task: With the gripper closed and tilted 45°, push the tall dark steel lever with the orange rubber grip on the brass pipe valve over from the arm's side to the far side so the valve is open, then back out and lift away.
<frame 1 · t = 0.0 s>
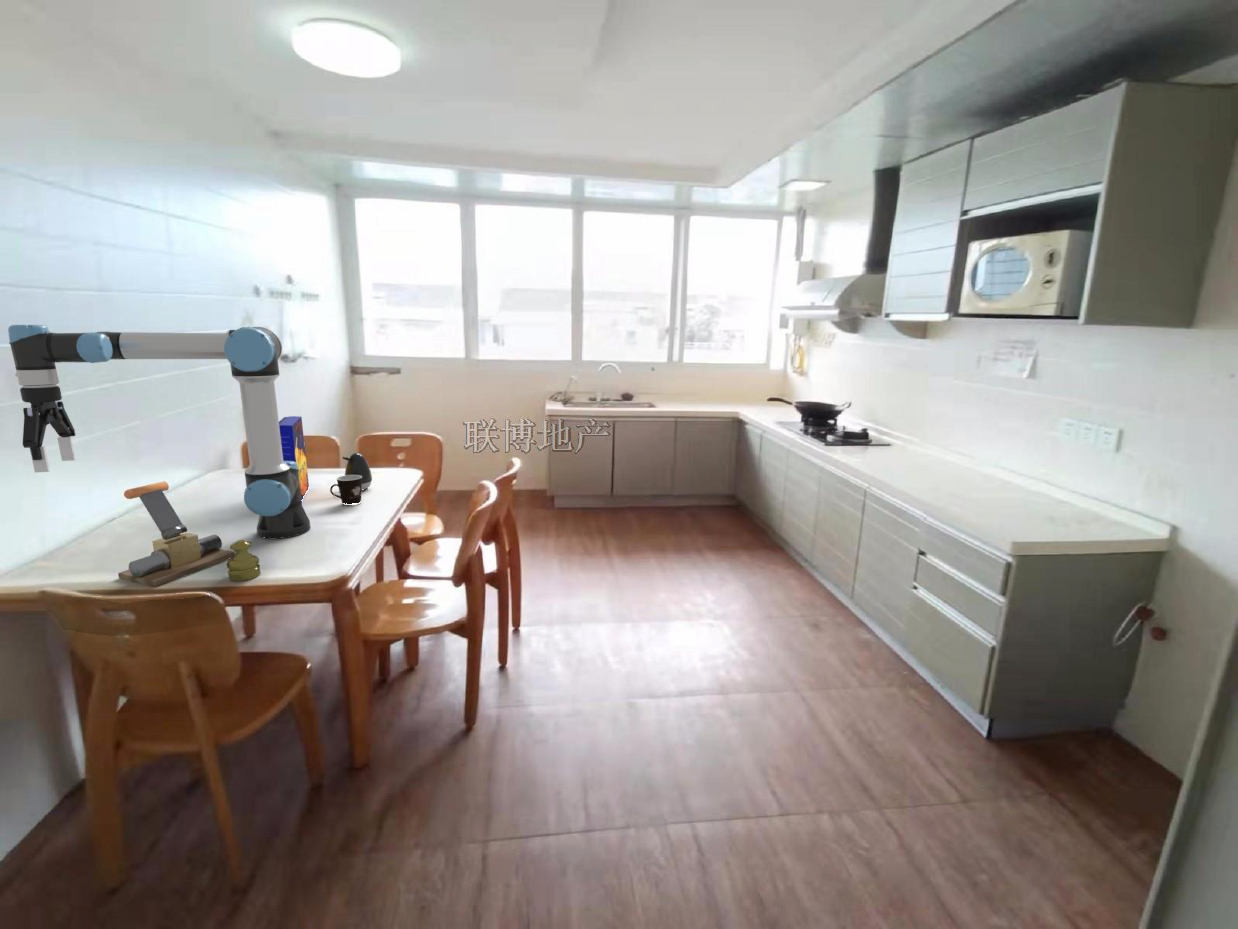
hand: (56, 466, 160), 28 cm above the table, tool pointing down, fingers open, 13 cm apart
gold pawn figurine: (245, 576, 161), on the table
coffee mug: (347, 504, 224), on the table
pipe valve: (179, 567, 165), on the table
cereal box: (296, 497, 232), on the table
valve lever: (161, 511, 163), point 16 cm above the table, hinge at -35.0°
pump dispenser: (359, 490, 243), on the table
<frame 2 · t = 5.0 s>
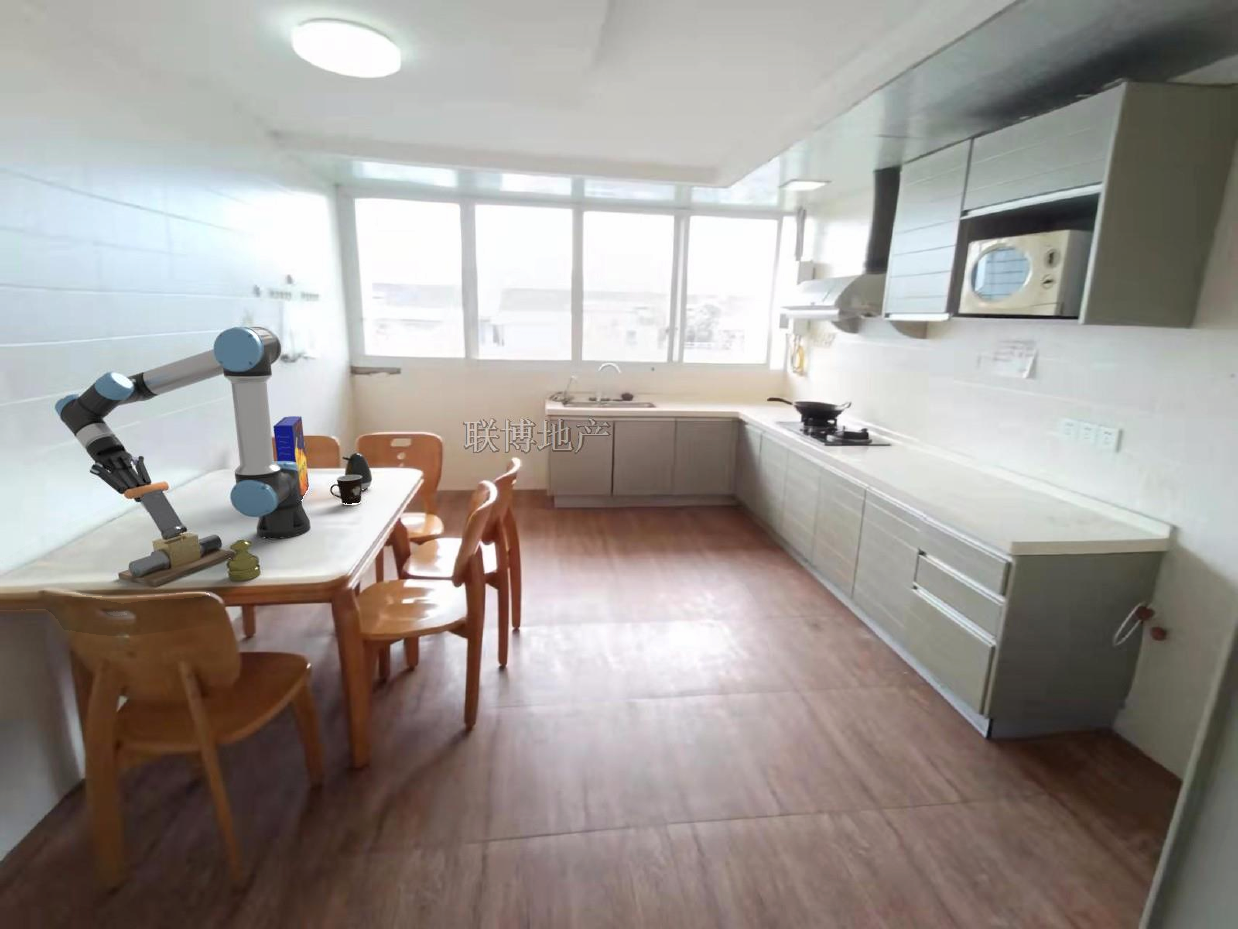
hand: (152, 508, 164), 16 cm above the table, tool tilted 45°, fingers closed
valve lever: (161, 511, 163), point 16 cm above the table, hinge at -34.9°, touching gripper
everything else where it was.
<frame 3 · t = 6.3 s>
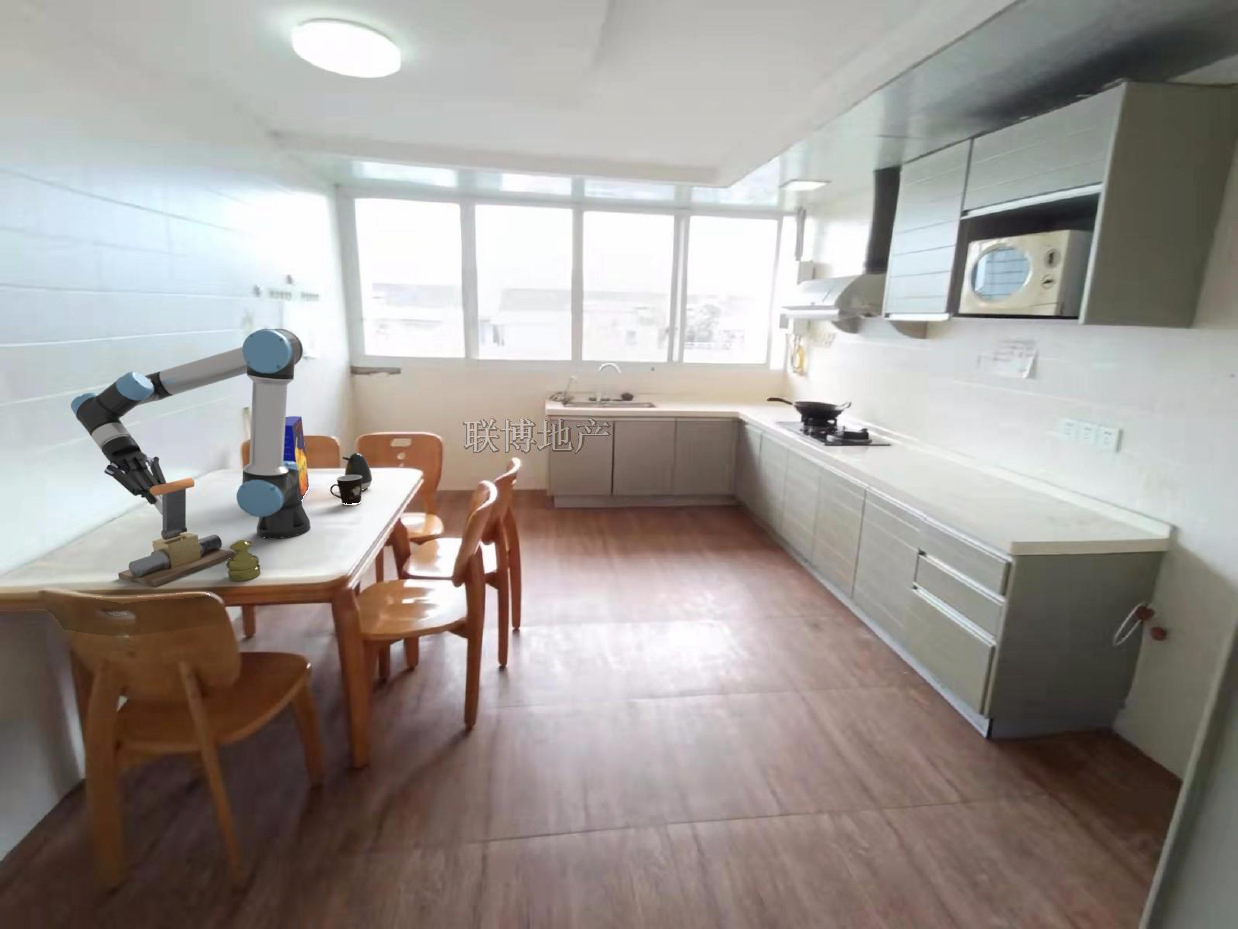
hand: (166, 511, 161), 16 cm above the table, tool tilted 45°, fingers closed
valve lever: (174, 509, 161), point 17 cm above the table, hinge at 12.4°, touching gripper
everything else where it was.
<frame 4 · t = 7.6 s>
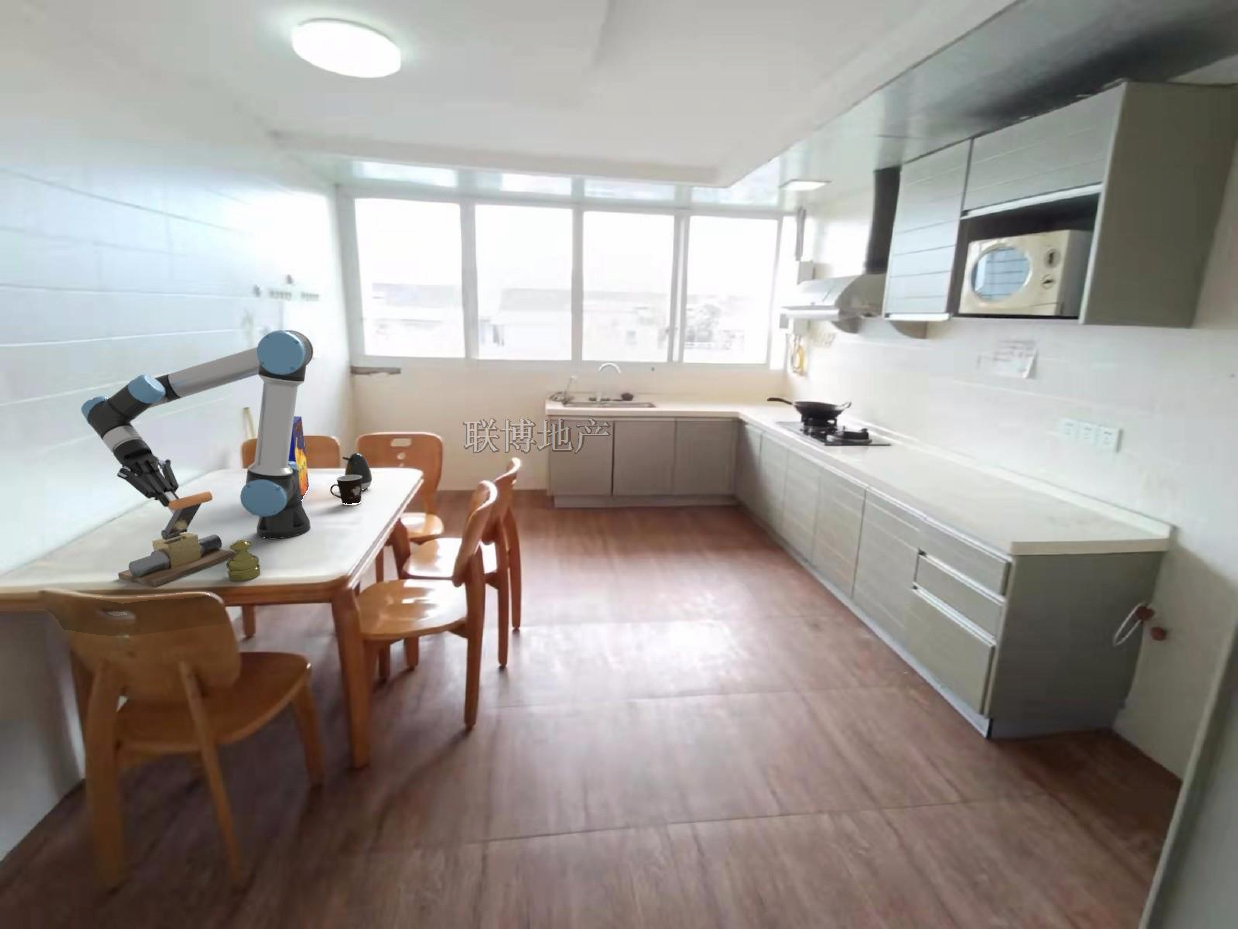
hand: (180, 513, 160), 16 cm above the table, tool tilted 45°, fingers closed
valve lever: (183, 516, 160), point 15 cm above the table, hinge at 42.1°, touching gripper
everything else where it was.
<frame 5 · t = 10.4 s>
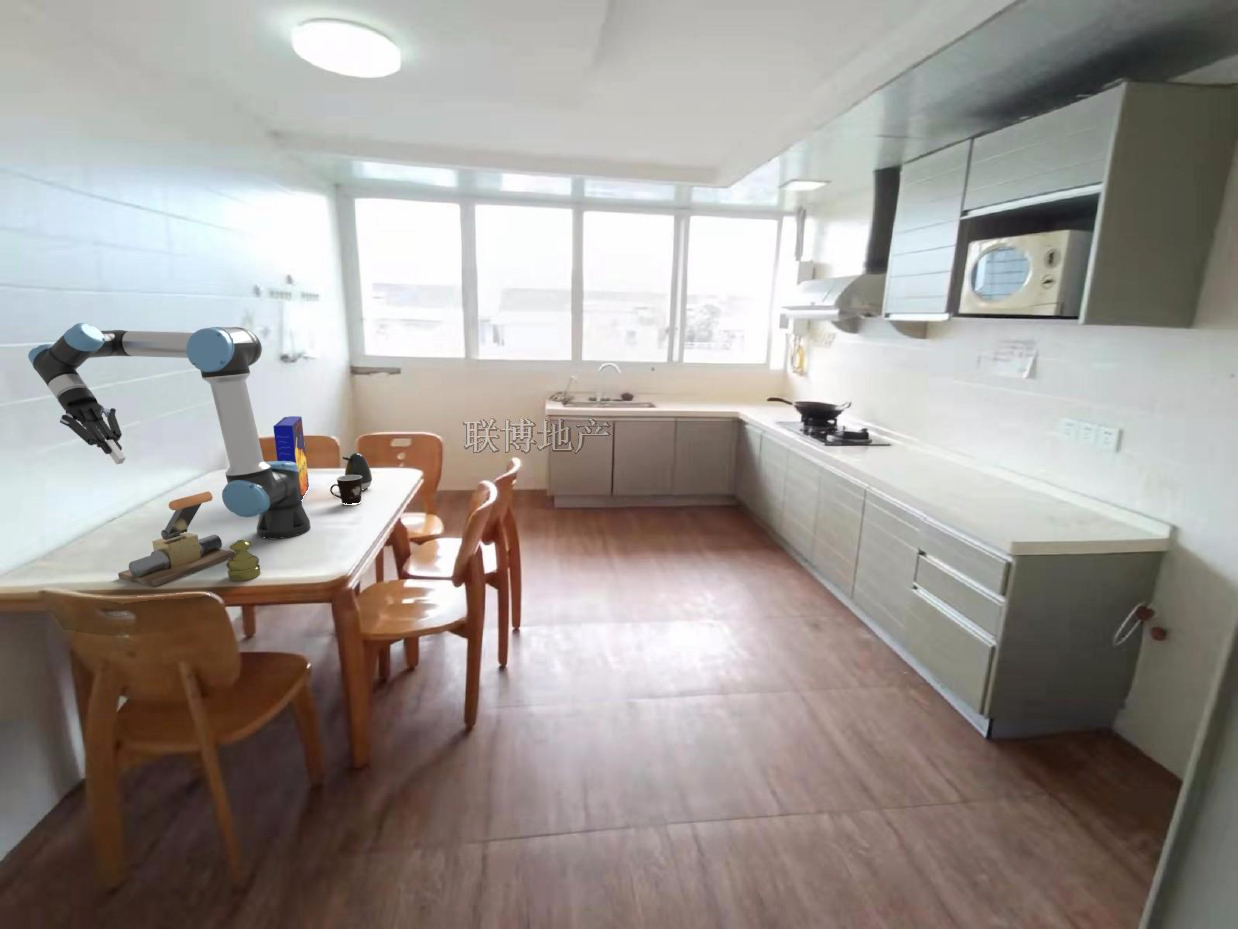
hand: (121, 461, 166), 28 cm above the table, tool tilted 40°, fingers closed
valve lever: (183, 516, 160), point 15 cm above the table, hinge at 42.2°
everything else where it was.
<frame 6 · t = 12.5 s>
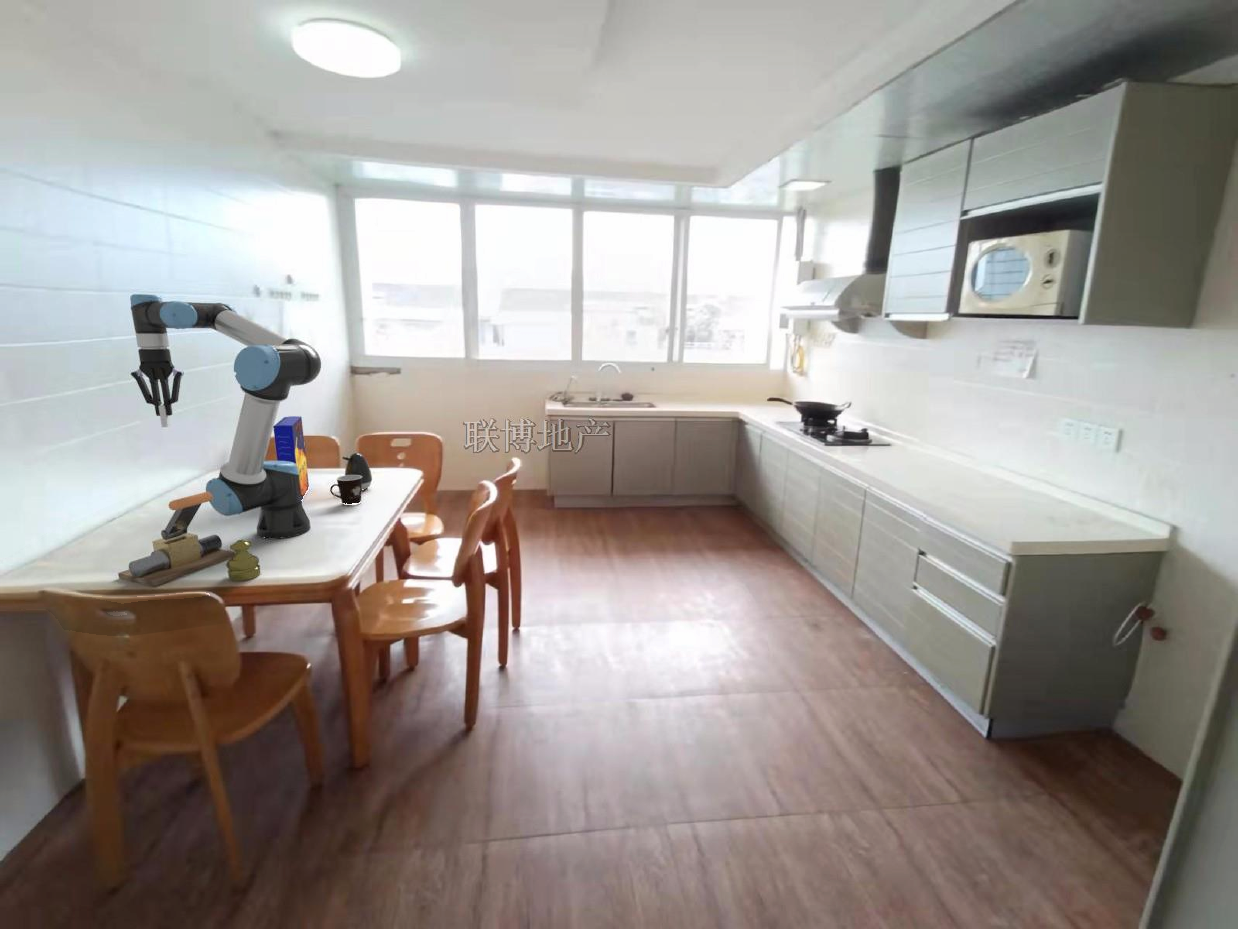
hand: (166, 426, 184), 34 cm above the table, tool pointing down, fingers closed
nothing on the table moved.
at the end: valve lever at +42° (first picture: -35°); gold pawn figurine moved 0.3 cm from its start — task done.
